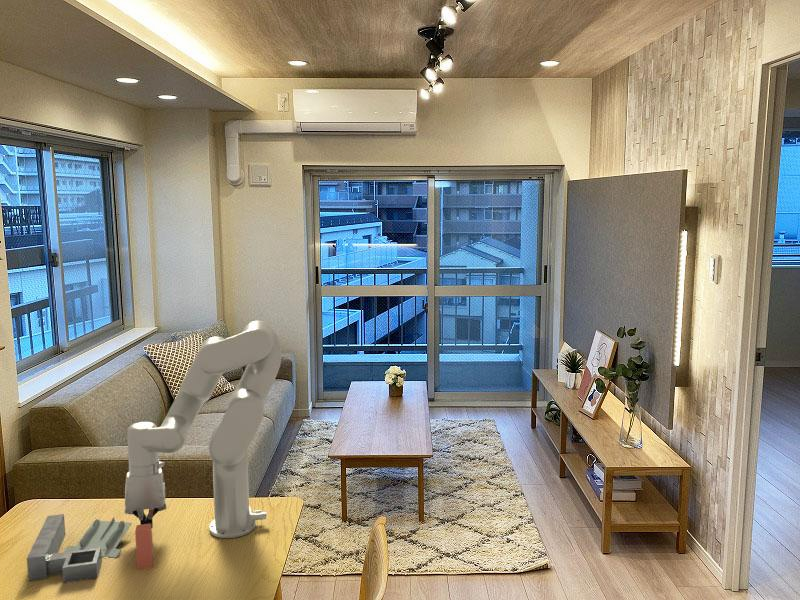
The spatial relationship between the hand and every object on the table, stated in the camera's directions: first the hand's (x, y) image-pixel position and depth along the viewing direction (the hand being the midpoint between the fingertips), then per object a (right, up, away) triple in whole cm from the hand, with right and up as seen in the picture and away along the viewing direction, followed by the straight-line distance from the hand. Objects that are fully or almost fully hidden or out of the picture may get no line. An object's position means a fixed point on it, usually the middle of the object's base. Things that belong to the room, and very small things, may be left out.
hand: (146, 531), depth 178 cm
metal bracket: (-10, -3, -4) cm, 11 cm away
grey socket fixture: (-15, -3, -10) cm, 19 cm away
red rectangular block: (+5, -4, -14) cm, 15 cm away
